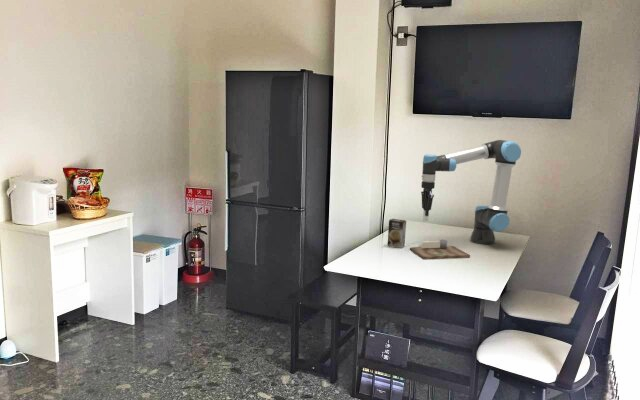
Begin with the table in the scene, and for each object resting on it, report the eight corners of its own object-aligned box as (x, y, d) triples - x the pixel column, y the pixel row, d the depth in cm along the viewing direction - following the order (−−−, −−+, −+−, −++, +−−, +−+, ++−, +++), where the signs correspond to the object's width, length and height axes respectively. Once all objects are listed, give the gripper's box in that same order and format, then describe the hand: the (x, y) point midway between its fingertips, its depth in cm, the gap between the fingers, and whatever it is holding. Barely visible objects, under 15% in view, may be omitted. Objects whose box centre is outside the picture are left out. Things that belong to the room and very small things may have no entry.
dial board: (453, 248, 322) (453, 245, 322) (469, 257, 303) (470, 254, 303) (409, 249, 316) (409, 246, 316) (423, 259, 297) (423, 256, 297)
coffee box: (387, 246, 323) (388, 220, 320) (390, 244, 329) (392, 218, 326) (401, 248, 319) (403, 221, 316) (405, 246, 324) (406, 220, 322)
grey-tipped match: (444, 246, 319) (445, 239, 318) (447, 248, 315) (448, 241, 314) (420, 247, 315) (421, 240, 315) (423, 249, 311) (424, 242, 310)
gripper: (417, 179, 319) (415, 218, 323) (426, 182, 306) (424, 223, 310) (429, 179, 321) (426, 218, 324) (439, 182, 308) (436, 223, 312)
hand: (425, 220), depth 317 cm, fingers closed
